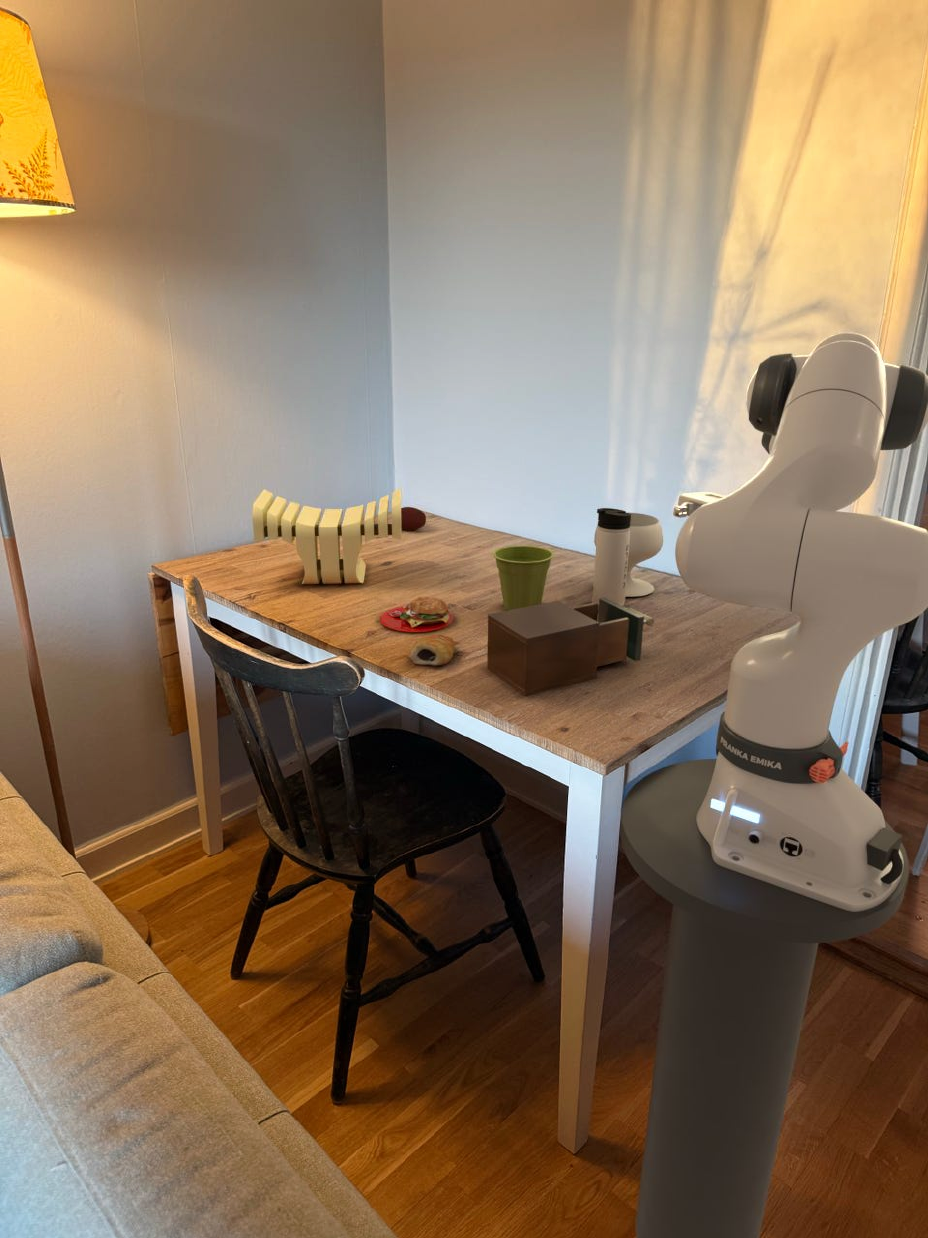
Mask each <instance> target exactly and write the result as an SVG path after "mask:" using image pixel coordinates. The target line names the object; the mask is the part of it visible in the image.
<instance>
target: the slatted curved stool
mask: <svg viewBox="0 0 928 1238" xmlns="http://www.w3.org/2000/svg"><path fill="white" fill-rule="evenodd" d="M389 501H390V499H389V494H386V495H385V496H382V497H381V498H379V505H378V513H377V500H373V501H370V502H368V503H367V505H366V510H365V507H364V506H365V505H364V504H359V505H357V506H350V507H347V508H346V509H345V513H343V512H344V511H343V508H325V509H324V512H323V515H322V508H321V507H314V506H308V505H303V507H302V508H301V506H300V505H301V504H300V503H298V502H295V501H289V504H288V503H287V499H286V498H284V497H281V496H279V495H277V496H276V498H275V499H274V493H272V492H271V491H269V490H267V489H265V488H264V489H263V490H262V491H261V492H260V494H259V495H258V496H257V498H256V499H255V500H254V502H253V505H252V529H253V539H254V540H253V541H254V543H257V542H261V541H265V539H266V538H267V539H268V540H278V539H279V538H281V540H282V541H283V542H286V543H289V544H290V545H293V543H294V541H295V543H296V544H295V545H296V552H297V554H298V556H299V558H300V560H301V563H302V567H303V571H304V576H303V579H302V582H301V585H320V583H321V582H322V584H323V585H326V584H327V585H329V584H330V585H332V584H333V585H335V584H337V585H338V584H342V582H343V578H344V584H364V581H365V574H366V569H367V564H366V563H365V562H364V560H363V558H362V556H360V553H361V551H362V545H363V536H364V544H366V543H368V542H369V541H371V540H374V539H375V536H378V538H379V539H380V538H382V539H383V538H385V539H386V538H388V537H389V536H391V538H392V539H395V540H400V541H402V539H403V538H402V531H403V530H402V529H401V508H402V487H399V488H397V489H396V490H394V491H392V496H391V523H389V508H390V507H389V506H390V502H389ZM364 511H365V512H364ZM343 514H344V517H343ZM364 514H365V515H364ZM376 515H377V523H376ZM321 516H322V517H321ZM342 518H343V521H342ZM320 519H321V520H320ZM363 520H364V521H363ZM363 522H364V524H363ZM341 523H342V524H341ZM340 537H341V538H340ZM340 541H341V542H340ZM318 542H319V548H318ZM341 545H342V557H341ZM318 549H319V550H318Z"/></svg>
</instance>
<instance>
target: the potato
mask: <svg viewBox="0 0 928 1238" xmlns="http://www.w3.org/2000/svg"><path fill="white" fill-rule="evenodd" d="M426 523H427V515H426V514H425V513H424V511H422V510H421V509H418V508H416V507H414V506H413V507H412V506H403V507H401V530H406V531H417V530H421V528H423V527H424V526H425V525H426Z"/></svg>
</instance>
